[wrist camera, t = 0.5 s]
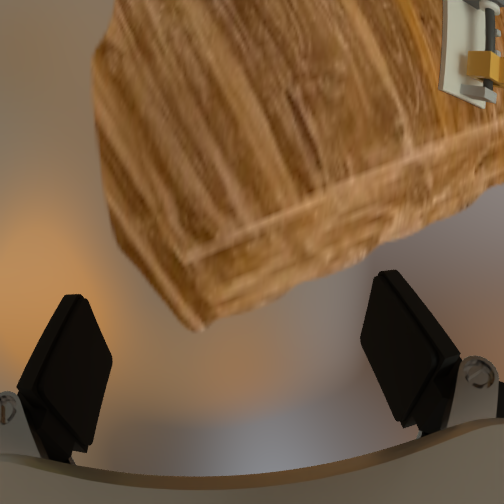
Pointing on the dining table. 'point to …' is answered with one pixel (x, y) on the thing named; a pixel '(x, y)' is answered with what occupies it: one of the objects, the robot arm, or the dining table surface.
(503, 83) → the sleeve
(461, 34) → the linear slide rail
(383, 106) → the dining table surface
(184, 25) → the dining table surface
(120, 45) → the dining table surface
